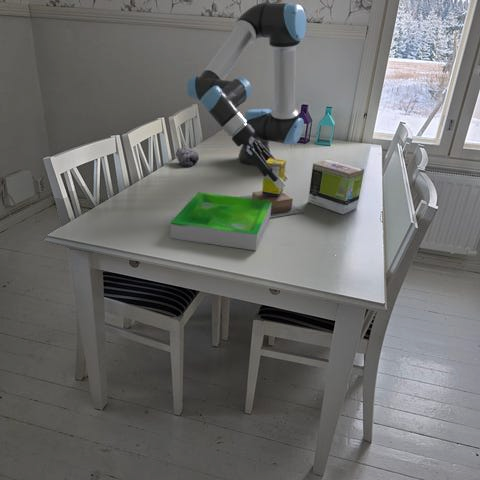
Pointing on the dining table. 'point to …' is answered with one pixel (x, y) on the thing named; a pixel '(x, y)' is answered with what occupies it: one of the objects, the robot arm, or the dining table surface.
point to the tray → (222, 220)
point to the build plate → (277, 204)
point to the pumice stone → (187, 156)
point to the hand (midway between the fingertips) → (284, 183)
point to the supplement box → (267, 183)
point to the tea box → (335, 186)
